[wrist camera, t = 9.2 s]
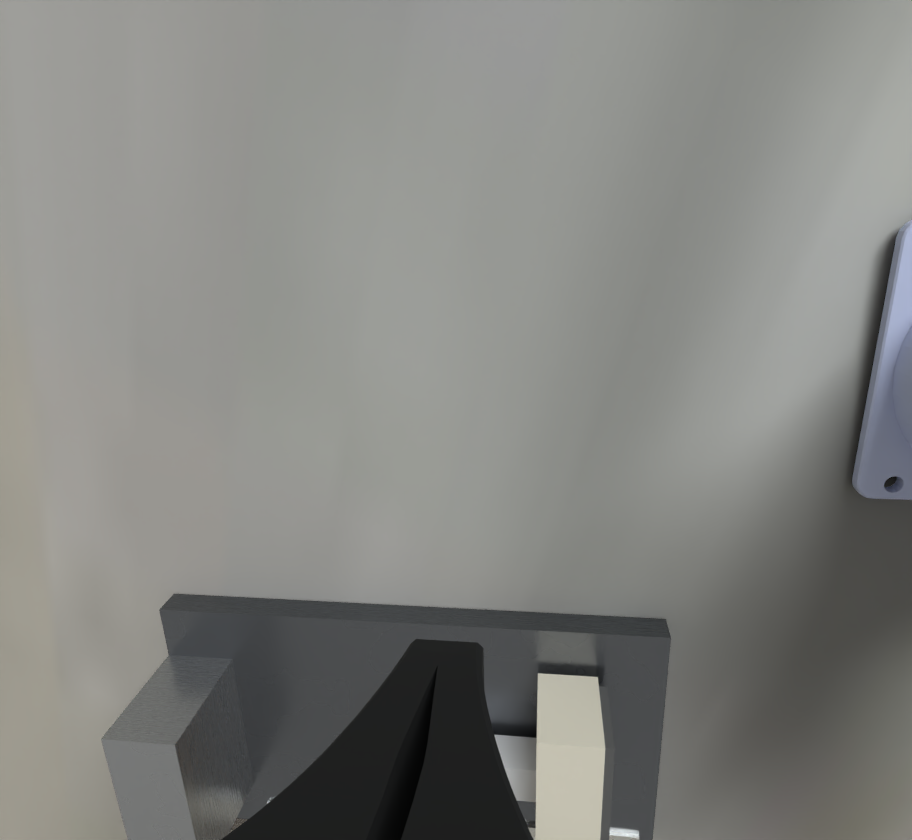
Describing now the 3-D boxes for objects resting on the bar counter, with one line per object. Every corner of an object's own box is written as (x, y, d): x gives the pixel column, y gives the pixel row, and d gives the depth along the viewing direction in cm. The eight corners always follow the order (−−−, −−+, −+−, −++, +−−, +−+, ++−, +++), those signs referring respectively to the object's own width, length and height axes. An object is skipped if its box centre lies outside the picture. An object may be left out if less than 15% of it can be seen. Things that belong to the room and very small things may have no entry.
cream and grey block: (607, 677, 22) (615, 749, 19) (598, 832, 24) (605, 915, 21) (422, 665, 23) (404, 732, 20) (430, 815, 25) (416, 894, 22)
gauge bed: (665, 619, 22) (696, 732, 18) (646, 834, 26) (669, 977, 21) (174, 593, 25) (87, 688, 20) (214, 793, 28) (147, 914, 23)
